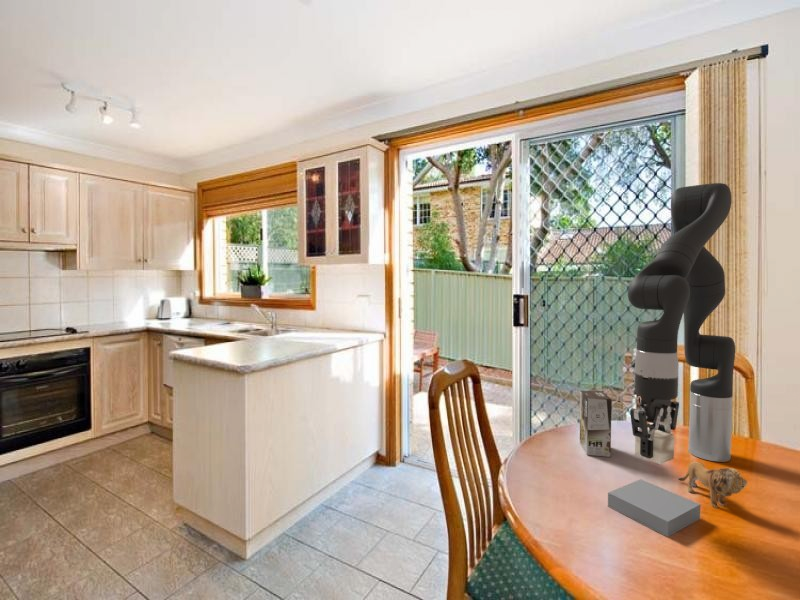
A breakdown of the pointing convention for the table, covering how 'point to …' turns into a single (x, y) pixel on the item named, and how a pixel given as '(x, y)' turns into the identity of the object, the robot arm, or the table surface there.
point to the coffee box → (595, 423)
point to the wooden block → (659, 447)
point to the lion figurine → (715, 481)
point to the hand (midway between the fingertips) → (654, 453)
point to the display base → (654, 507)
